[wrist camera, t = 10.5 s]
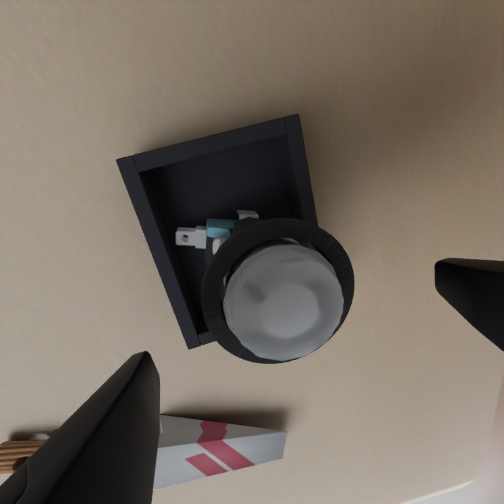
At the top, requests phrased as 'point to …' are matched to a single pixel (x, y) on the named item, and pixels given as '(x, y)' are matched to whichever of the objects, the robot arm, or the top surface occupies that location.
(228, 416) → the top surface
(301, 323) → the push button
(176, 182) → the black hollow square tray
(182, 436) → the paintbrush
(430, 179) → the top surface
